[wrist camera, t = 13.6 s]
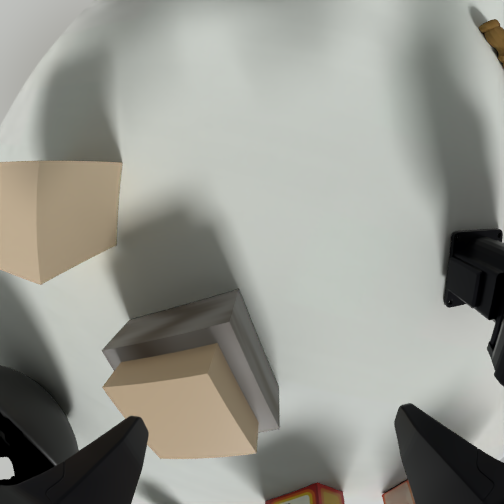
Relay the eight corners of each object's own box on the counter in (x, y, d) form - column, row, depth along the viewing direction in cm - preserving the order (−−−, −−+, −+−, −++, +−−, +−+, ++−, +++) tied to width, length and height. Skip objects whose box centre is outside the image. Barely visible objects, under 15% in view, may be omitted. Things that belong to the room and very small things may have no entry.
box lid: (217, 342, 16) (207, 373, 13) (258, 422, 18) (256, 453, 15) (121, 362, 17) (102, 387, 14) (170, 432, 19) (160, 458, 16)
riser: (238, 289, 21) (229, 321, 16) (278, 387, 23) (279, 429, 18) (129, 319, 22) (101, 350, 17) (179, 404, 24) (165, 441, 19)
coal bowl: (87, 458, 31) (45, 535, 12) (-1, 381, 28) (-59, 440, 10) (121, 416, 26) (54, 539, 8) (1, 307, 24) (-98, 377, 6)
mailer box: (122, 162, 19) (39, 160, 10) (116, 245, 20) (40, 284, 12) (61, 160, 19) (-19, 163, 10) (58, 234, 21) (-17, 262, 12)
